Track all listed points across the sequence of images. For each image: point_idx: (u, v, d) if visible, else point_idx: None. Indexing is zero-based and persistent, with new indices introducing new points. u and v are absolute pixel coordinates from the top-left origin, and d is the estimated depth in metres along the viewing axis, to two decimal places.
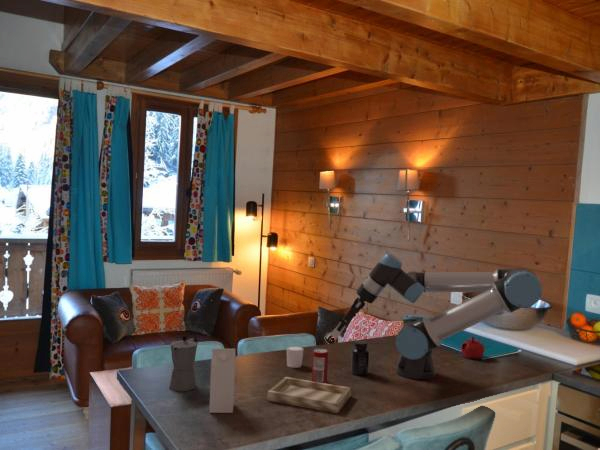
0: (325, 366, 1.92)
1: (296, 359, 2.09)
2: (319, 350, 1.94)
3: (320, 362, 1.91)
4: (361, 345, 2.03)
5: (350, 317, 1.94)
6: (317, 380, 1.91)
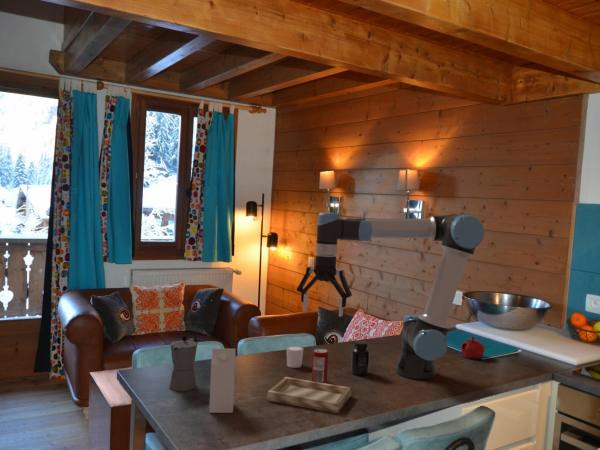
0: (325, 366, 1.92)
1: (296, 359, 2.09)
2: (319, 350, 1.94)
3: (320, 362, 1.91)
4: (361, 345, 2.03)
5: (348, 287, 1.90)
6: (317, 380, 1.91)
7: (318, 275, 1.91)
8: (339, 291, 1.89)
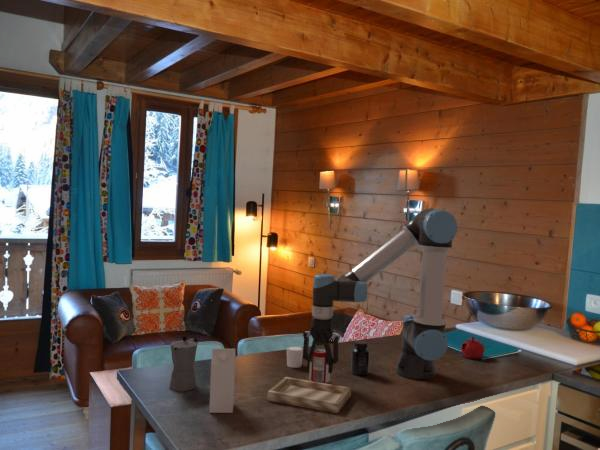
0: (325, 366, 1.92)
1: (296, 359, 2.09)
2: (319, 350, 1.94)
3: (320, 362, 1.91)
4: (361, 345, 2.03)
5: (337, 353, 1.92)
6: (317, 380, 1.91)
7: (315, 338, 1.92)
8: (328, 356, 1.91)
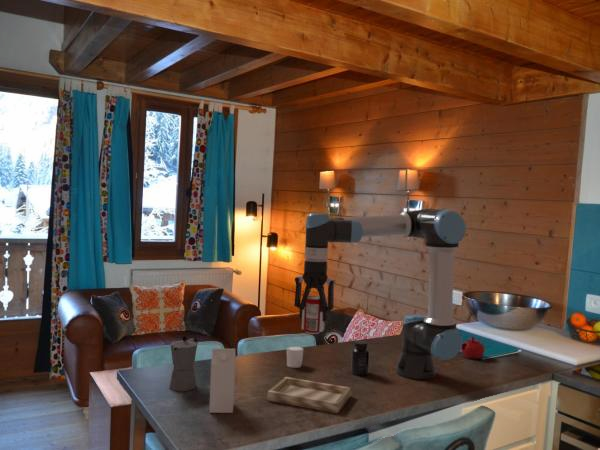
0: (319, 314, 1.74)
1: (296, 359, 2.09)
2: (312, 297, 1.77)
3: (314, 309, 1.73)
4: (361, 345, 2.03)
5: (333, 299, 1.74)
6: (310, 329, 1.74)
7: (308, 282, 1.74)
8: (322, 303, 1.74)
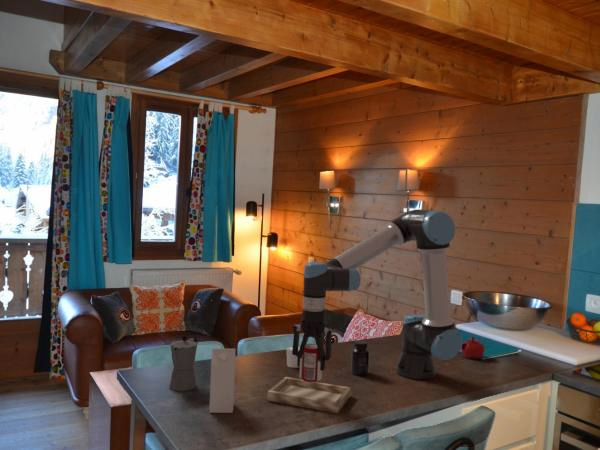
0: (317, 363, 1.75)
1: (296, 359, 2.09)
2: (310, 345, 1.78)
3: (311, 358, 1.74)
4: (361, 345, 2.03)
5: (330, 348, 1.75)
6: (307, 378, 1.75)
7: (306, 332, 1.75)
8: (320, 352, 1.75)
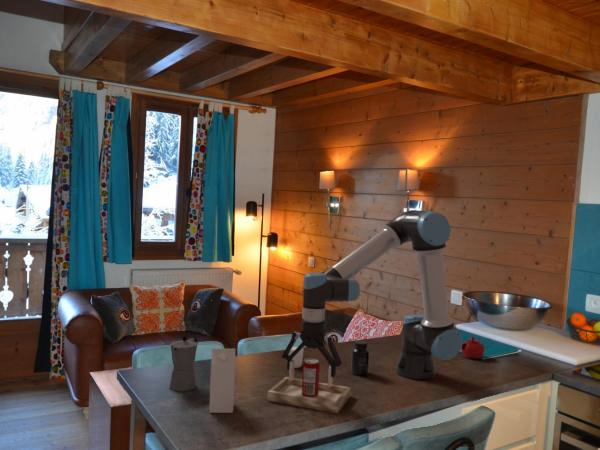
0: (316, 378, 1.75)
1: (296, 359, 2.09)
2: (310, 360, 1.78)
3: (311, 373, 1.74)
4: (361, 345, 2.03)
5: (337, 354, 1.74)
6: (307, 393, 1.75)
7: (305, 342, 1.76)
8: (328, 360, 1.74)
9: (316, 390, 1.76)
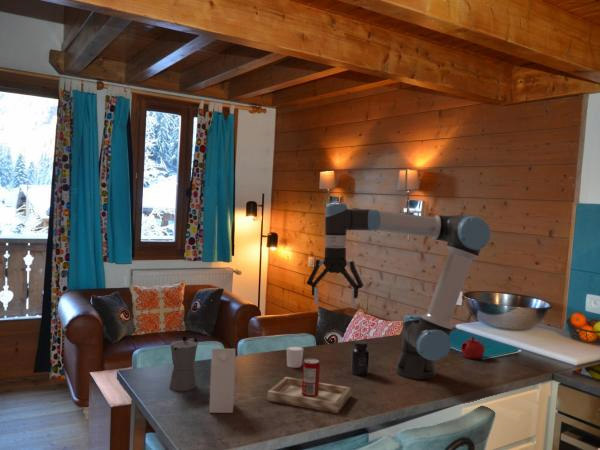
0: (316, 378, 1.75)
1: (296, 359, 2.09)
2: (310, 360, 1.78)
3: (311, 373, 1.74)
4: (361, 345, 2.03)
5: (359, 277, 1.88)
6: (307, 393, 1.75)
7: (328, 267, 1.89)
8: (350, 282, 1.87)
9: (316, 390, 1.76)
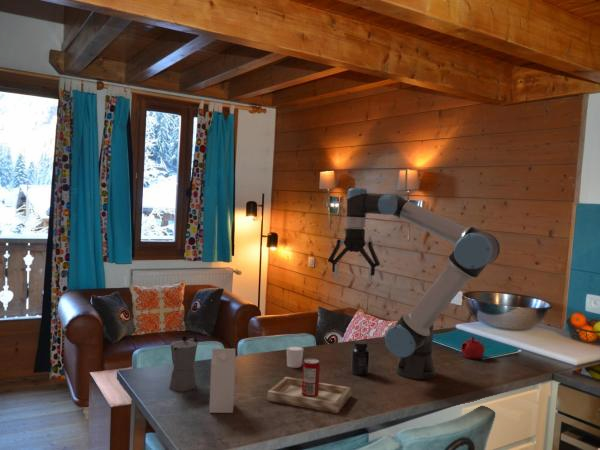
0: (316, 378, 1.75)
1: (296, 359, 2.09)
2: (310, 360, 1.78)
3: (311, 373, 1.74)
4: (361, 345, 2.03)
5: (376, 256, 2.05)
6: (307, 393, 1.75)
7: (348, 246, 2.06)
8: (368, 261, 2.04)
9: (316, 390, 1.76)
